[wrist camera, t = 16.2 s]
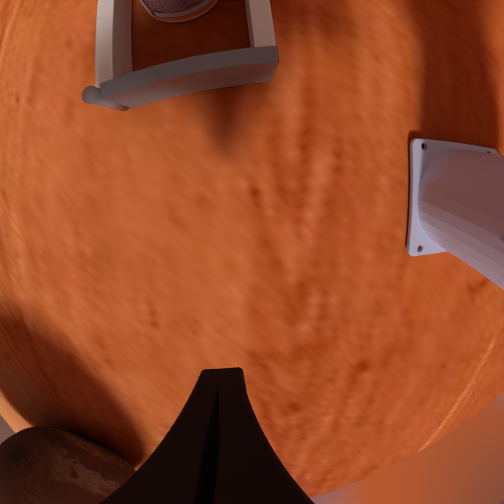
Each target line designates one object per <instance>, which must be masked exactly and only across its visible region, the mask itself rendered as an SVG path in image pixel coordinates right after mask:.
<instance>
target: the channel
mask: <svg viewBox="0 0 504 504" xmlns="http://www.w3.org/2000/svg"><path fill="white" fill-rule="evenodd" d="M245 7H246V15H247V23H248V31H249V40H250V48H252V47H263V46H276V41H275V33H274V26H273V19H272V13H271V6H270V0H245ZM131 23H132V0H98V9H97V23H96V47H95V74H96V87H97V88H100V83H102V82H105V81H108V80H110V79H113V78H116V77H119V76H122V75H125V74H128V73H131V72H132V42H131Z"/></svg>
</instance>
